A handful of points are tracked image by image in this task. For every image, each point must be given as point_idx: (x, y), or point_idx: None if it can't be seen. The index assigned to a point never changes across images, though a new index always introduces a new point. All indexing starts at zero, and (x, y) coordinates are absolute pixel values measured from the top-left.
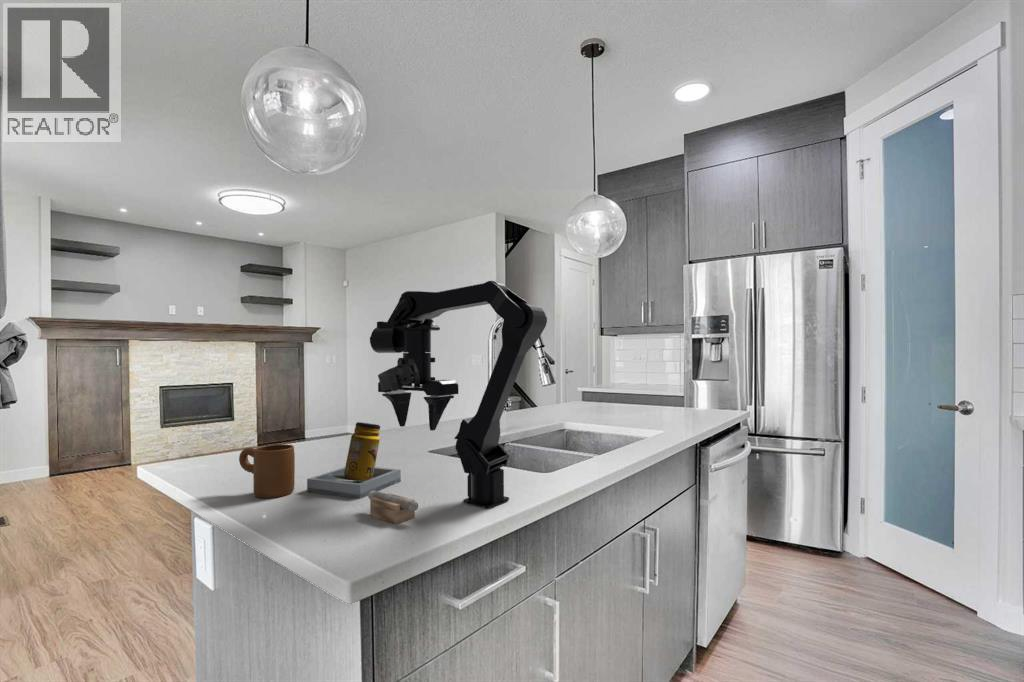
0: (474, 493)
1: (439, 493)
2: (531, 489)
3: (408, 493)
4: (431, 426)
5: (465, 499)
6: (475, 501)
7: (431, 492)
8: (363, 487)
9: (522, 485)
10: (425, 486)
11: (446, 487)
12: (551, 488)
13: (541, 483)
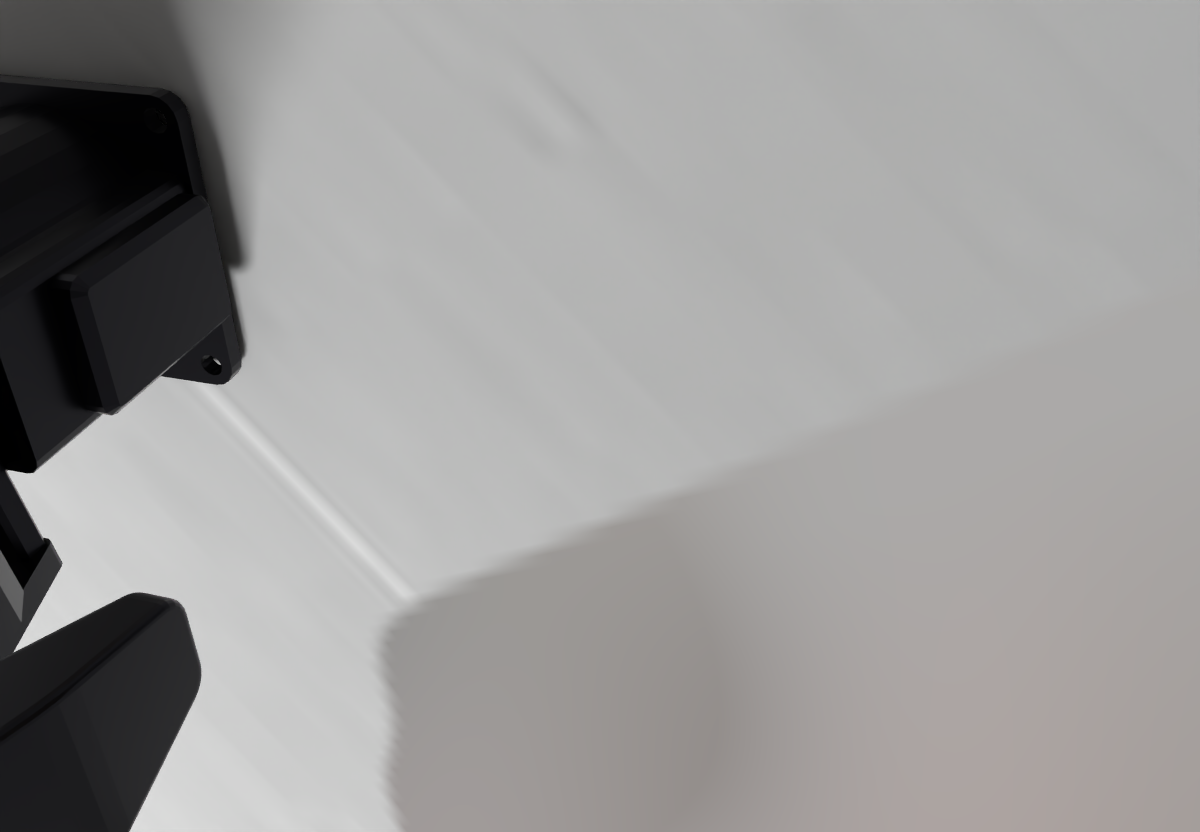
0: (1, 135)
1: (597, 229)
2: None
3: (907, 48)
4: (51, 639)
5: (168, 128)
6: (41, 109)
7: (695, 217)
8: None
9: (250, 675)
10: (923, 361)
11: (693, 422)
12: None
13: (201, 746)
